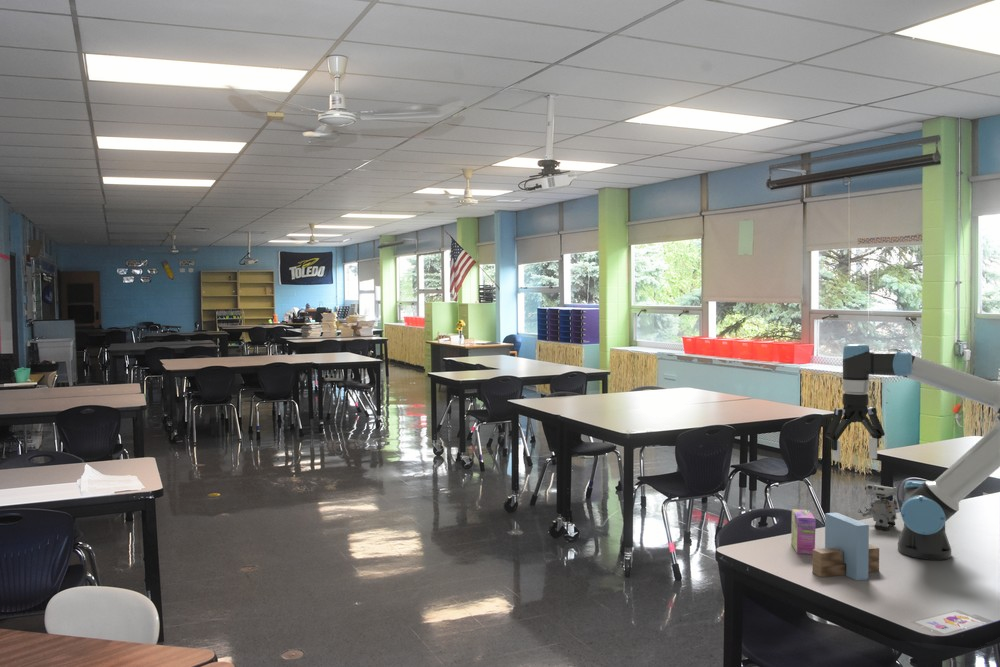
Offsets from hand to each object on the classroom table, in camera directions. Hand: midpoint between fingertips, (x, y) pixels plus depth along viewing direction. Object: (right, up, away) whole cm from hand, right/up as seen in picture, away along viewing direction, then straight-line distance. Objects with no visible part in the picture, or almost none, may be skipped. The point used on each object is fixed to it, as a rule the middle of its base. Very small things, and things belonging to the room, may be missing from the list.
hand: (854, 459), depth 243 cm
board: (-10, -31, -15) cm, 36 cm away
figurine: (+24, -30, +33) cm, 50 cm away
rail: (-10, -31, -15) cm, 36 cm away
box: (-14, -31, +7) cm, 34 cm away
